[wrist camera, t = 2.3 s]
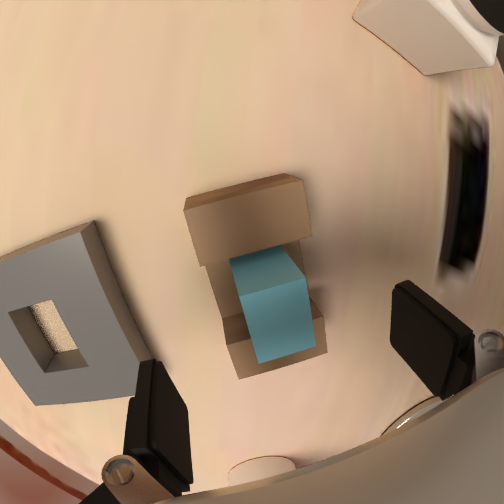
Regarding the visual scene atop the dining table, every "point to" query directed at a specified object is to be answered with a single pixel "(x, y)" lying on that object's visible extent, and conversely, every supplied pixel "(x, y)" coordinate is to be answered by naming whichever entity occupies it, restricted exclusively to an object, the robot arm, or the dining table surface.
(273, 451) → the dining table surface
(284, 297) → the plug
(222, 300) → the brown notched block
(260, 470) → the bottle
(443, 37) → the medicine bottle
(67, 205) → the dining table surface
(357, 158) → the dining table surface
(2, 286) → the port block
